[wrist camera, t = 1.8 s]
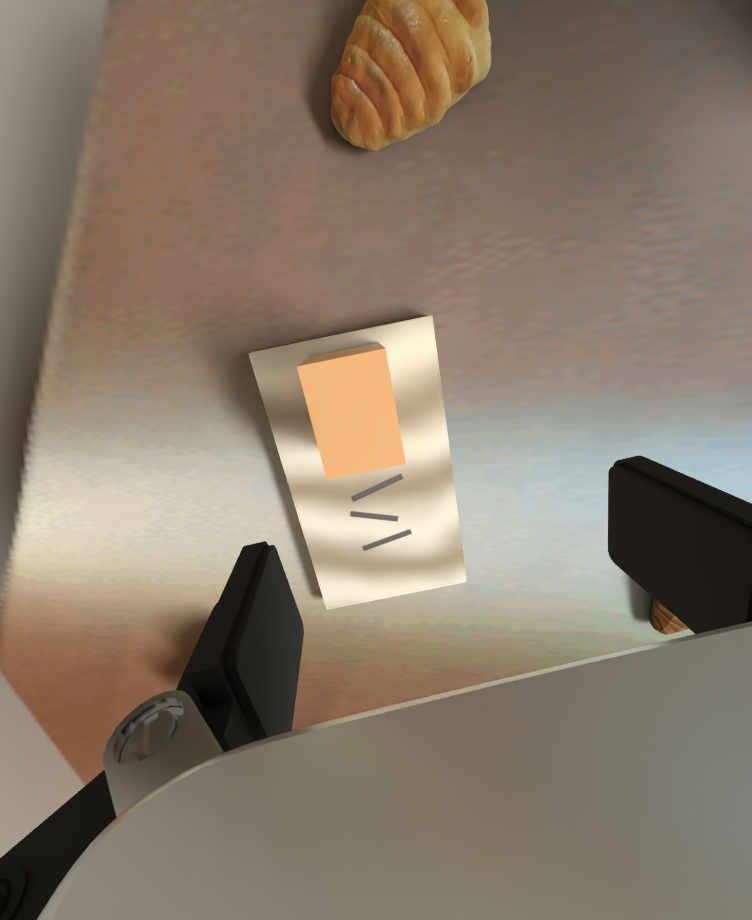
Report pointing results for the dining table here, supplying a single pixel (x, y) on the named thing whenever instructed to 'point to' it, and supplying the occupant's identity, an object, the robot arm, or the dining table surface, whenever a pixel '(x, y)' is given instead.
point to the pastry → (407, 67)
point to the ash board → (371, 474)
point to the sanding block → (352, 410)
